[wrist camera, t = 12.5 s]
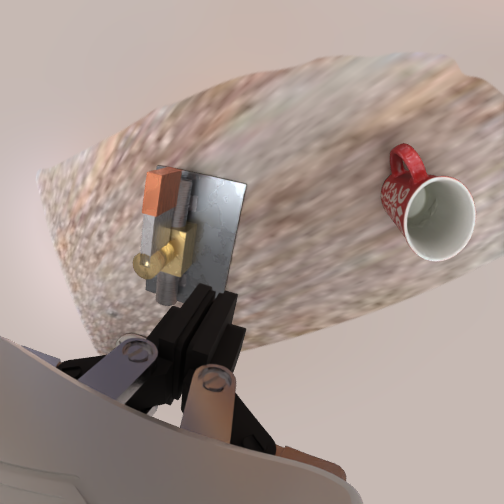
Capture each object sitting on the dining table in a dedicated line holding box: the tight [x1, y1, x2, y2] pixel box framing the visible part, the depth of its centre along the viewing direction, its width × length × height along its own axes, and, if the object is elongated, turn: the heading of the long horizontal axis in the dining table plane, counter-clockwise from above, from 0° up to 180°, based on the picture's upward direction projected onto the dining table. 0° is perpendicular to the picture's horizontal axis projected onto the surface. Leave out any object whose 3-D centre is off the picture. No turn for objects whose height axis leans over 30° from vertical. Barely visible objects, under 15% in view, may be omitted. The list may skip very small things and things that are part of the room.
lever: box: [133, 167, 182, 279], centre depth 37 cm, size 14×4×6 cm, turn 167°
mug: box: [381, 143, 476, 261], centre depth 31 cm, size 13×9×14 cm
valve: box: [146, 165, 247, 306], centre depth 44 cm, size 22×14×5 cm, turn 168°
